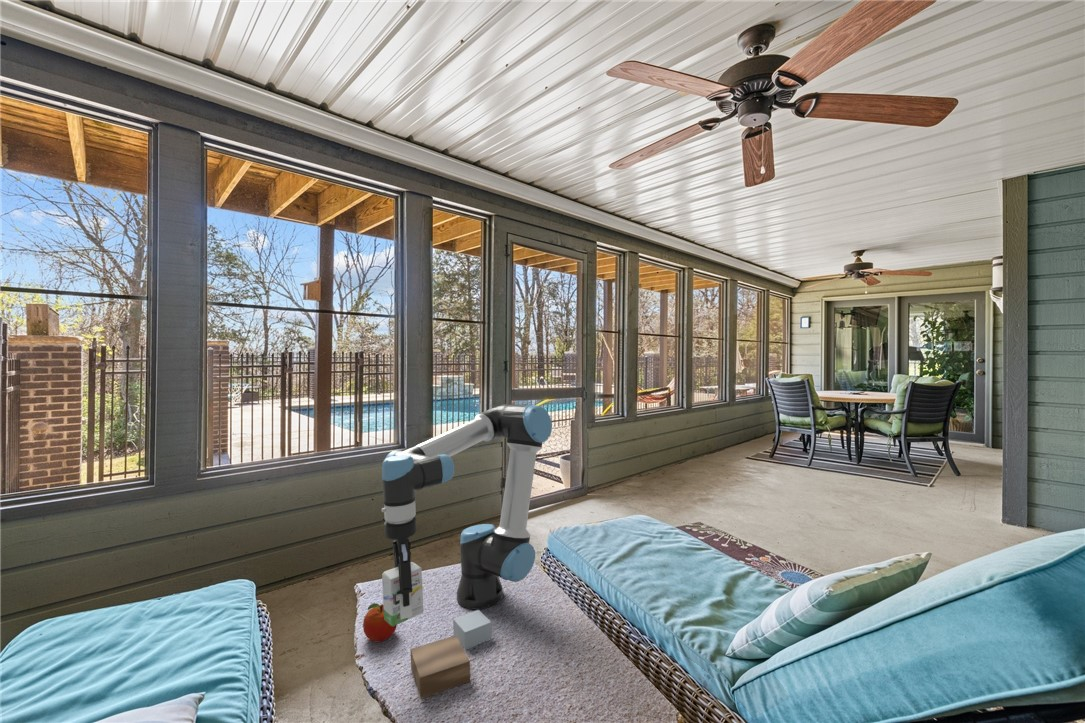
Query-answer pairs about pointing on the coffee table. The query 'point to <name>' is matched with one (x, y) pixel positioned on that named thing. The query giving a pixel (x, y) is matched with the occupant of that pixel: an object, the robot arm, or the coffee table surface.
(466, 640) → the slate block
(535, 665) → the coffee table surface
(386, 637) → the fruit
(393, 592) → the ink box
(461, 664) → the walnut block
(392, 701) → the coffee table surface
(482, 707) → the coffee table surface
